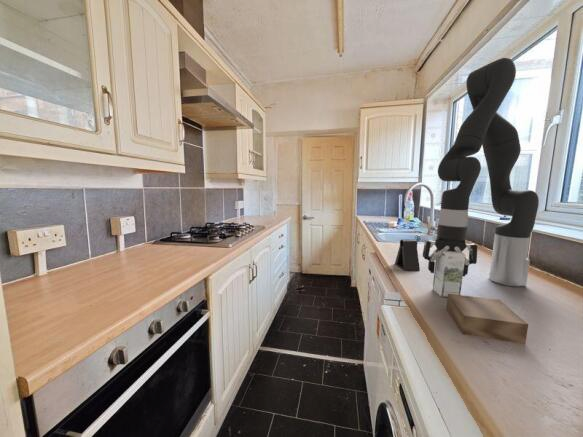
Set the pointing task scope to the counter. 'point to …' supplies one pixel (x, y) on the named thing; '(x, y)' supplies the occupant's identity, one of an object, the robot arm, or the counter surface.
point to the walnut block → (486, 318)
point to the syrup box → (448, 273)
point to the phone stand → (408, 256)
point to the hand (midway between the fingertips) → (446, 273)
